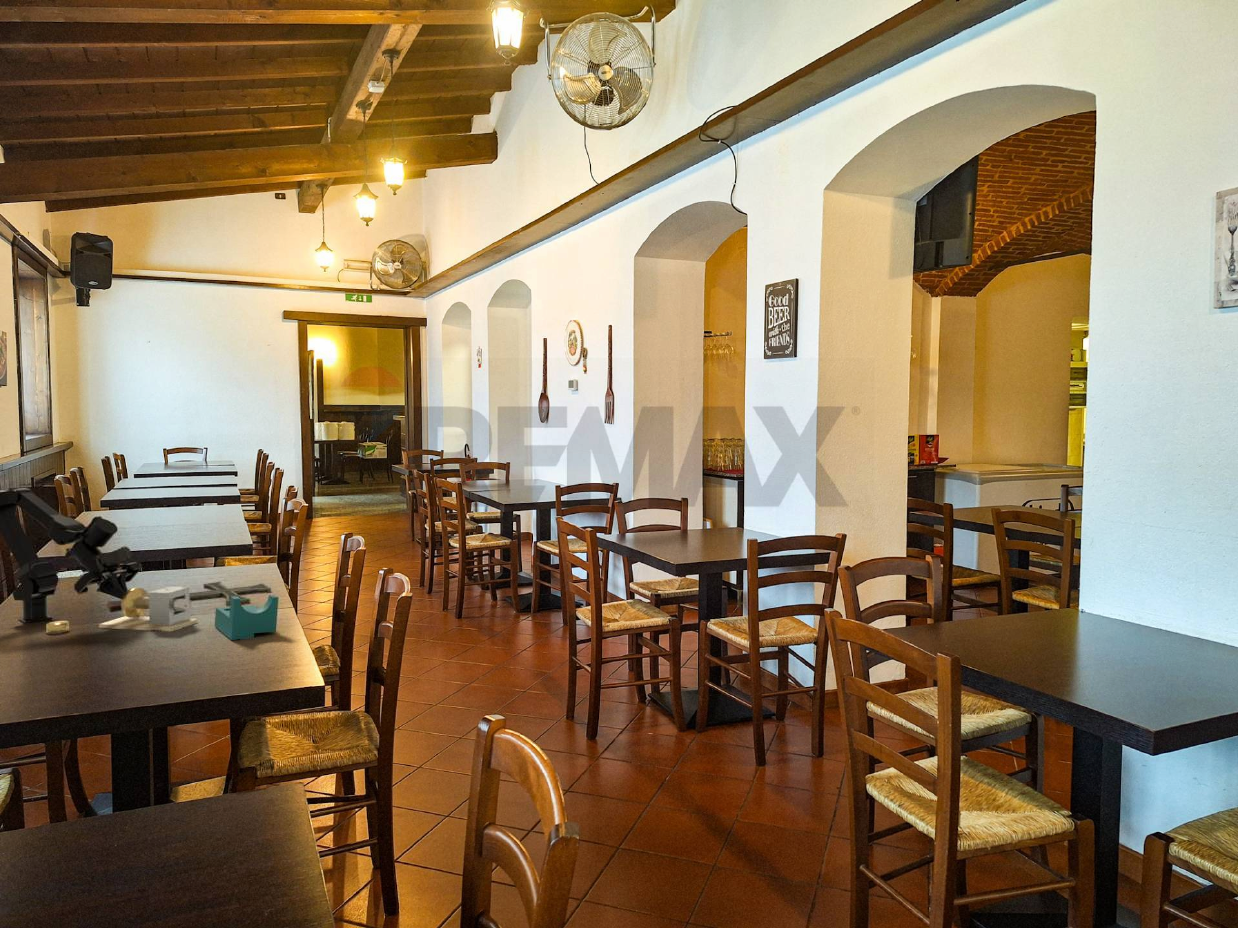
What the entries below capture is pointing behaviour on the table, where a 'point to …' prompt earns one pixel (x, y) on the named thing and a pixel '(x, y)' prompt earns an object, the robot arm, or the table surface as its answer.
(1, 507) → the robot arm
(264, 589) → the cross
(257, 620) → the teal saddle bracket
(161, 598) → the bearing block
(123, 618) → the board
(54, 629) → the spacer
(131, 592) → the shaft
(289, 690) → the table surface
